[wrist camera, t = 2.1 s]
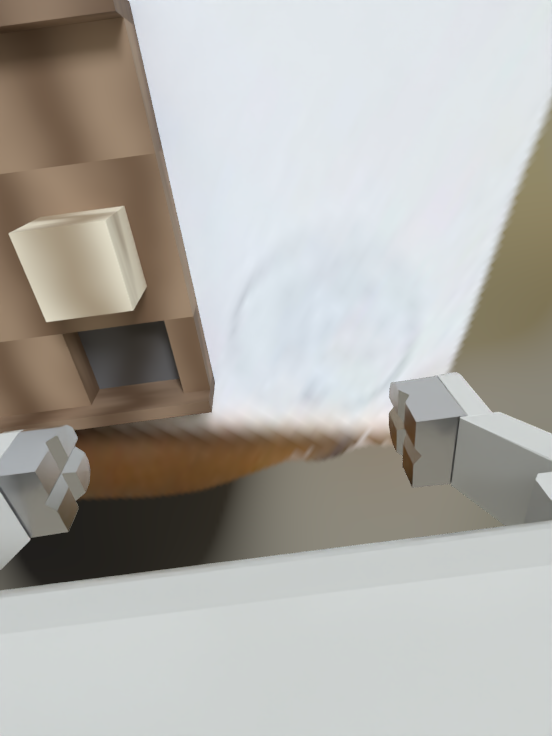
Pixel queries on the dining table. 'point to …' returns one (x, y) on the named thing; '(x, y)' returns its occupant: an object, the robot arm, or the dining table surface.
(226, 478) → the dining table surface
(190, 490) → the dining table surface
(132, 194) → the box
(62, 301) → the cream block
